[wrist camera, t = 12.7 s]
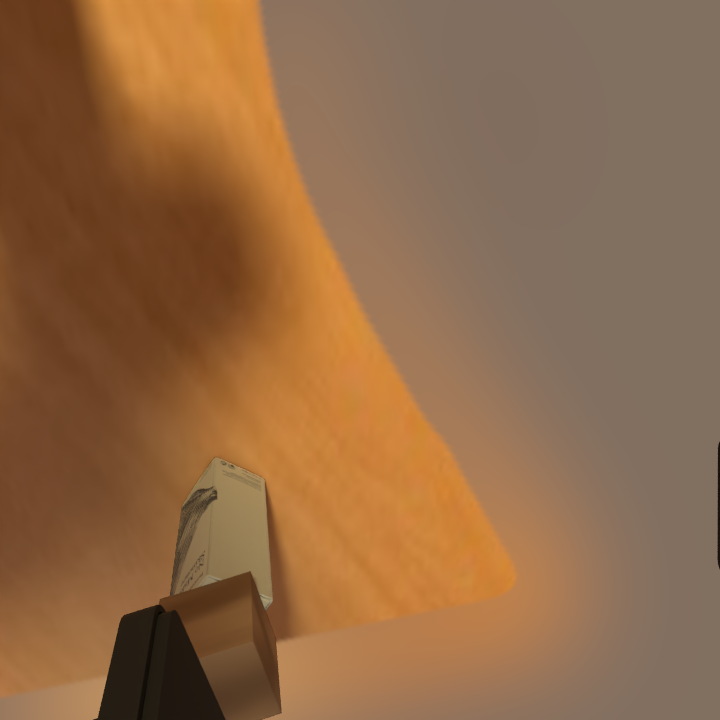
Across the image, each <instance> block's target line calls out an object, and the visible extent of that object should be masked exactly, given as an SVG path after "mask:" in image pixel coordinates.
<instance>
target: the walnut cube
mask: <svg viewBox="0 0 720 720" xmlns="http://www.w3.org/2000/svg"><path fill="white" fill-rule="evenodd" d="M159 605H161V606H162V607H164V609H165V611H166V612H168V611H172V610H176V611H177V612H178V614H179V616H180V618H181V620H182V623H183V625H184V627H185V629H186V632H187V634H188V636H189V638H190V641H191V643H192V645H193V647H194V650H195V652H196V654H197V656H198V659H199V661H200V663H201V665H202V668H203V670H204V672H205V674H206V677H207V679H208V681H209V683H210V686H211V688H212V690H213V692H214V695H215V697H216V699H217V701H218V704H219V706H220V708H221V710H222V712H223V715H224V717H225V719H226V720H262V719H265V718H268V717H271V716H274V715H277V714H280V713H281V700H280V688H279V675H278V662H277V649H276V637H275V635H274V632H273V629H272V627H271V624H270V621H269V619H268V616H267V613H266V611H265V608H264V605H263V603H262V600H261V598H260V595H259V592H258V590H257V587H256V584H255V582H254V579H253V576H252V574H251V571H249V572H246V573H243V574H240V575H236V576H233V577H230V578H227V579H223V580H220V581H217V582H214V583H211V584H207V585H204V586H201V587H198V588H195V589H191V590H188V591H185V592H182V593H179V594H175V595H172V596H169V597H166V598H163V599H160V603H159Z"/></svg>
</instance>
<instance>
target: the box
mask: <svg viewBox="0 0 720 720" xmlns="http://www.w3.org/2000/svg"><path fill="white" fill-rule="evenodd" d="M249 571H251V574H252V576H253V579H254V582H255V584H256V587H257V590H258V592H259V595H260V598H261V600H262V603H263V605H264V608H265V611H266V610H267V609H268V607H269V606H270V605H271V603H272V601H273V592H272V578H271V563H270V549H269V535H268V520H267V506H266V491H265V479H264V478H262V477H260V476H257V475H256V474H253V473H251V472H249V471H247V470H245V469H243V468H241V467H238V466H236V465H234V464H232V463H229V462H227V461H225V460H223V459H220V458H217V457H215V458H214V459H213V460H212V462H211V463H210V464H209V466H208V467H207V469H206V470H205V471H204V473H203V474H202V476H201V477H200V478H199V480H198V481H197V483H196V484H195V486H194V487H193V489H192V490H191V492H190V494H189V495H188V497H187V498H186V500H185V502H184V503H183V505H182V509H181V516H180V524H179V530H178V538H177V545H176V552H175V560H174V567H173V575H172V584H171V592H170V596H172V595H175V594H179V593H182V592H185V591H188V590H191V589H195V588H198V587H201V586H204V585H207V584H211V583H214V582H217V581H220V580H223V579H227V578H230V577H233V576H236V575H240V574H243V573H246V572H249Z"/></svg>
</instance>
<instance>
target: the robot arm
mask: <svg viewBox="0 0 720 720" xmlns="http://www.w3.org/2000/svg"><path fill="white" fill-rule="evenodd" d="M718 565H719V568H720V442H719V446H718ZM94 720H226V719H225V717H224V715H223V712H222V710H221V708H220V706H219V704H218V701H217V699H216V697H215V695H214V692H213V690H212V688H211V686H210V683H209V681H208V679H207V677H206V674H205V672H204V670H203V668H202V665H201V663H200V661H199V659H198V656H197V654H196V652H195V650H194V647H193V645H192V643H191V641H190V638H189V636H188V634H187V632H186V629H185V627H184V625H183V623H182V620H181V618H180V616H179V614H178V612H177V611H176V610H172V611H168V612H166V611H165V609H164V607H162V606H161V605H155V606H152V607H149V608H146V609H142V610H139V611H136V612H133V613H130V614H126V615H124V616H123V617H122V618H121V621H120V624H119V628H118V633H117V637H116V641H115V646H114V650H113V654H112V659H111V663H110V667H109V672H108V676H107V681H106V685H105V689H104V694H103V698H102V702H101V707H100V711H99V716H98V718H97V719H94Z"/></svg>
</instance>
